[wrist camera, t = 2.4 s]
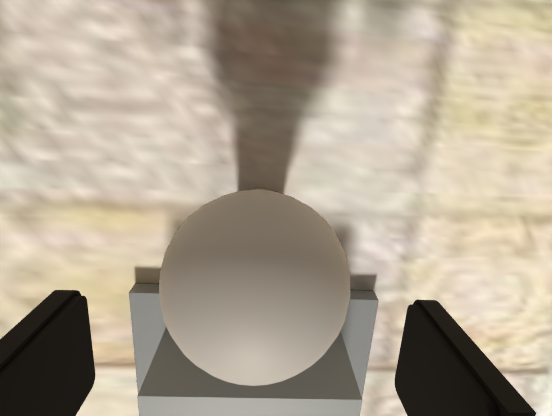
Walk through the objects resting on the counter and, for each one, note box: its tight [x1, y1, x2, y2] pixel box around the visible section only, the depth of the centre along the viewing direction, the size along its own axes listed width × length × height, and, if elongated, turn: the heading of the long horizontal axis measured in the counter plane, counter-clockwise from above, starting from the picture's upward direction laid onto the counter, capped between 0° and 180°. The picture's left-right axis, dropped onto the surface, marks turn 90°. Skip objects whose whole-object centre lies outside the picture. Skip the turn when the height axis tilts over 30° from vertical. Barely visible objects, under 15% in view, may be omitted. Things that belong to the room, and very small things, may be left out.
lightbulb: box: [159, 188, 350, 386], centre depth 14 cm, size 6×6×11 cm
